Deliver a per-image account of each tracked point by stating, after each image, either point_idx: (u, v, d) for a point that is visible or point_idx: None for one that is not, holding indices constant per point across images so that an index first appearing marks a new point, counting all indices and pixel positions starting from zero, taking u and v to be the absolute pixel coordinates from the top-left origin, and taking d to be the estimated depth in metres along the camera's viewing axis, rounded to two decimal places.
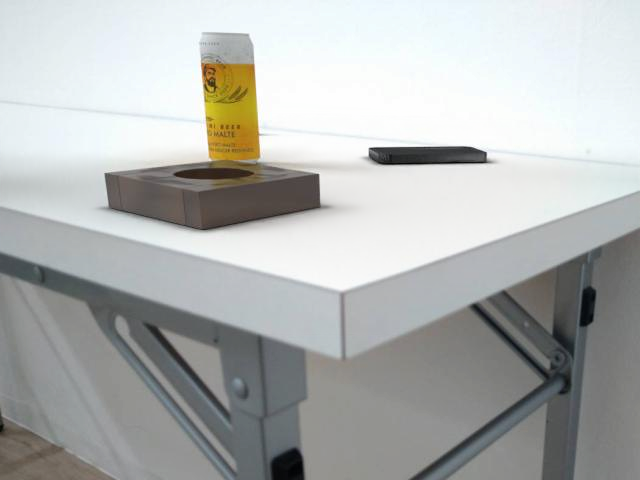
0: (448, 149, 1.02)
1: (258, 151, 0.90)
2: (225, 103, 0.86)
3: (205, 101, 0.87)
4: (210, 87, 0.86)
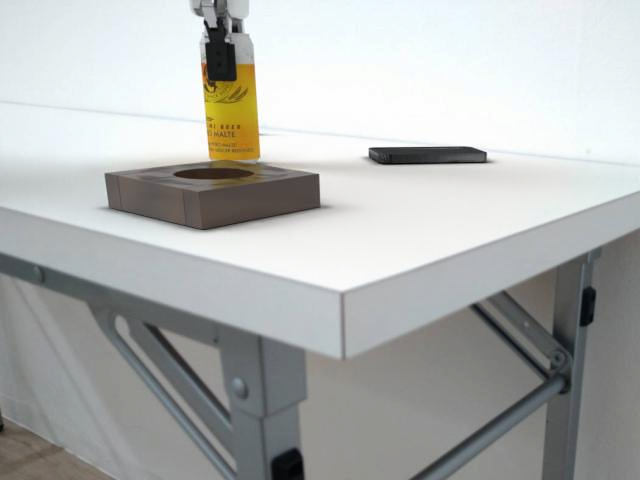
0: (448, 149, 1.02)
1: (258, 151, 0.90)
2: (225, 103, 0.86)
3: (205, 101, 0.87)
4: (210, 87, 0.86)
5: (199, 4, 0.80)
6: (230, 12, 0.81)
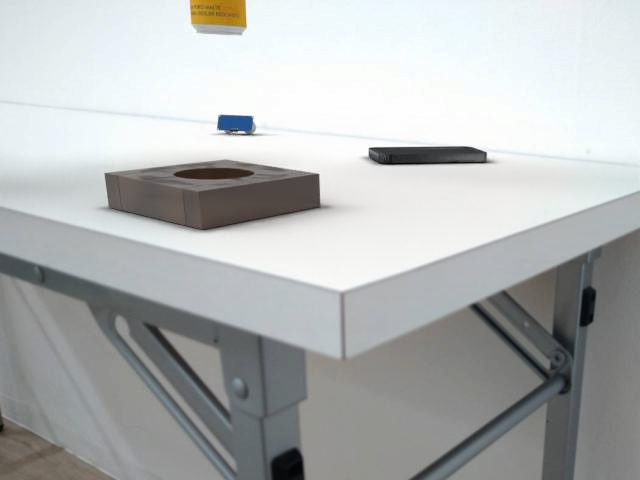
0: (448, 149, 1.02)
1: (244, 19, 0.84)
2: None
3: None
4: None
5: None
6: None
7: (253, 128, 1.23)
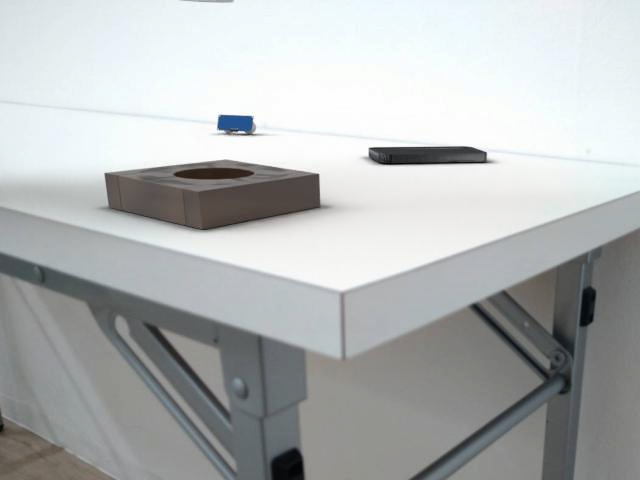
0: (448, 149, 1.02)
1: None
2: None
3: None
4: None
5: None
6: None
7: (253, 128, 1.23)
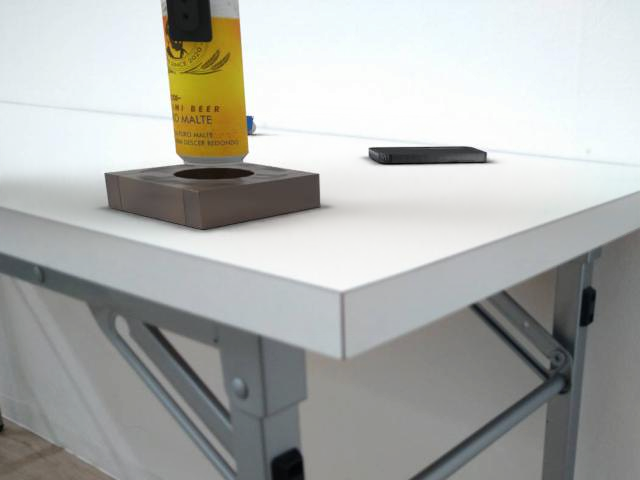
0: (448, 149, 1.02)
1: (246, 144, 0.64)
2: (196, 74, 0.60)
3: (169, 72, 0.61)
4: (175, 51, 0.59)
5: None
6: None
7: (253, 128, 1.23)
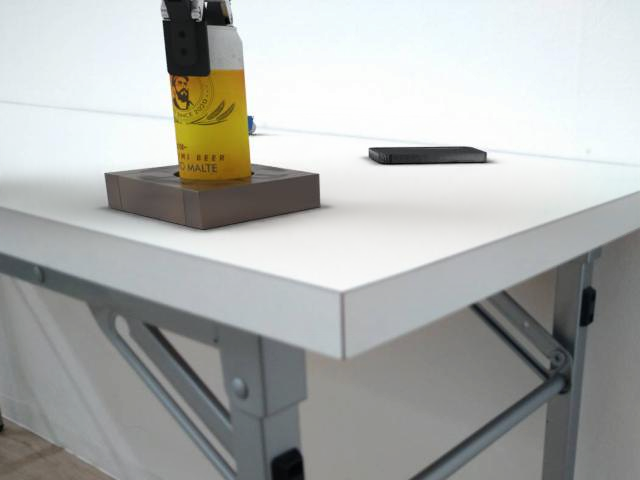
0: (448, 149, 1.02)
1: None
2: (202, 125, 0.61)
3: (175, 122, 0.62)
4: (181, 102, 0.61)
5: None
6: None
7: (253, 128, 1.23)
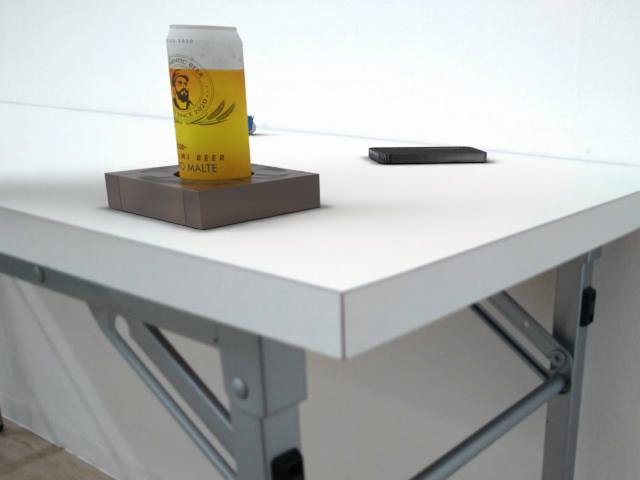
0: (448, 149, 1.02)
1: None
2: (202, 125, 0.61)
3: (175, 122, 0.62)
4: (181, 102, 0.61)
5: None
6: None
7: (253, 128, 1.23)
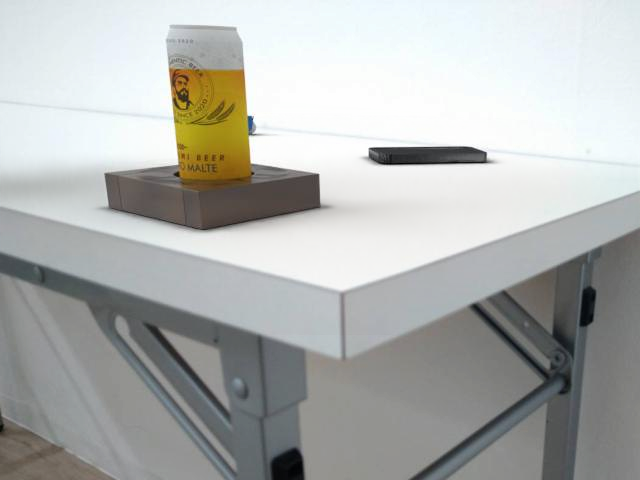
0: (448, 149, 1.02)
1: None
2: (202, 125, 0.61)
3: (175, 122, 0.62)
4: (181, 102, 0.61)
5: None
6: None
7: (253, 128, 1.23)
